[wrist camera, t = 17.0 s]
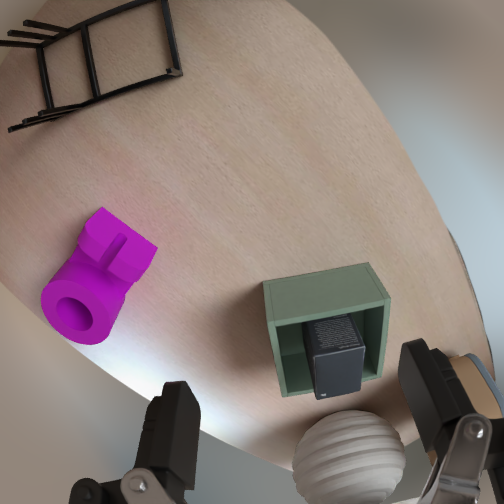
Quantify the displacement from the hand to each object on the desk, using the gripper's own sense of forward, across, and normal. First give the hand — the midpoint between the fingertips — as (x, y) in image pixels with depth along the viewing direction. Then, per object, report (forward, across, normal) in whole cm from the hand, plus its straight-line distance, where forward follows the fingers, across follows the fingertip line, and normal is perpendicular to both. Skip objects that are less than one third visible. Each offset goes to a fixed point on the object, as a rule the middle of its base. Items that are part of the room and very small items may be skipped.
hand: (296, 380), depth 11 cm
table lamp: (+26, -6, +51) cm, 57 cm away
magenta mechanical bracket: (+26, +23, +7) cm, 35 cm away
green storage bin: (+26, -4, +20) cm, 33 cm away
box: (+25, -4, +20) cm, 32 cm away
